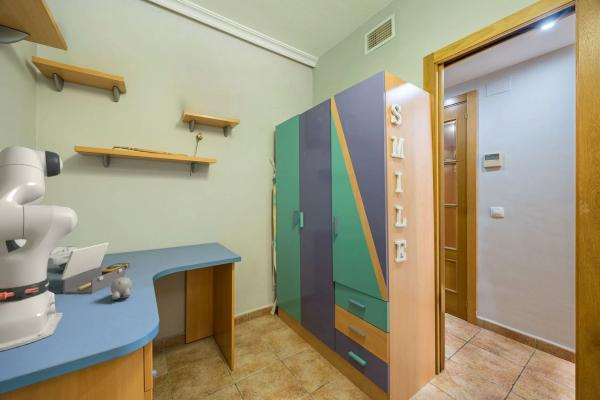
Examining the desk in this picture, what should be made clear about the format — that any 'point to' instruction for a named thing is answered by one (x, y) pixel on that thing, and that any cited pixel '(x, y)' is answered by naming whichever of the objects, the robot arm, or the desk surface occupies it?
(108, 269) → the electronic device
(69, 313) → the desk surface
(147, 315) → the desk surface
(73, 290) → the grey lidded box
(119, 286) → the grey toy animal
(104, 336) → the desk surface
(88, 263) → the cover
